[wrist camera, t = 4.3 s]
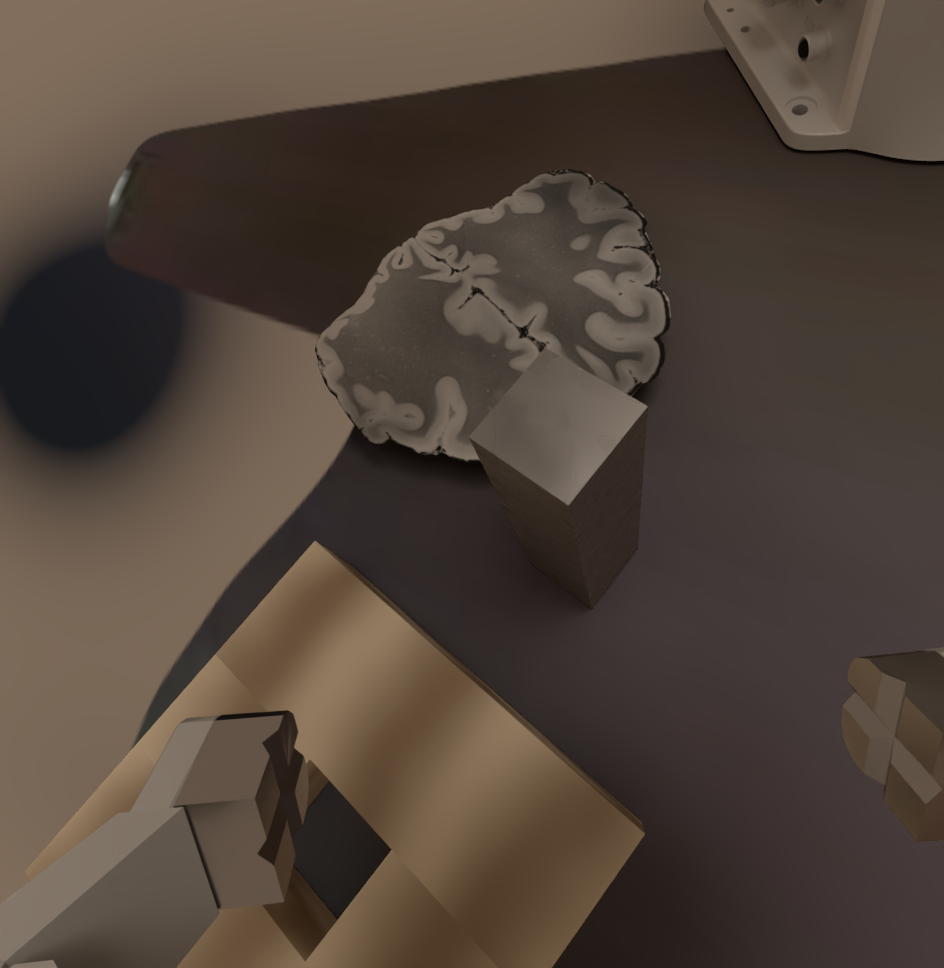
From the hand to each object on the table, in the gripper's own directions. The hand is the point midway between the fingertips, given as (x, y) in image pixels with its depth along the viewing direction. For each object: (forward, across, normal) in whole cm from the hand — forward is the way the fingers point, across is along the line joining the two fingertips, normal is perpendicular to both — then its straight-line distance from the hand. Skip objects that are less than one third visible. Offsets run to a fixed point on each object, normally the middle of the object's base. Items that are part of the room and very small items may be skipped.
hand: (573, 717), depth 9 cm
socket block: (+13, -8, -18) cm, 23 cm away
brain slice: (+30, +2, 0) cm, 30 cm away
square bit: (+20, +4, -8) cm, 22 cm away
